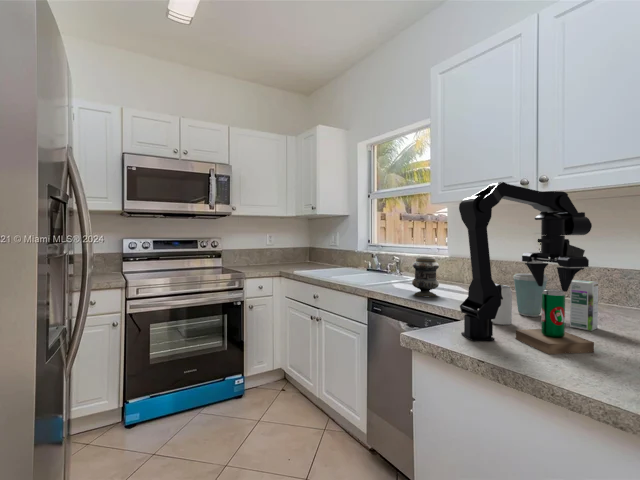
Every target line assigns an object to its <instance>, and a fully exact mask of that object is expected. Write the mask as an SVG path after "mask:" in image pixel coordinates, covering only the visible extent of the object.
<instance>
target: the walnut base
mask: <svg viewBox="0 0 640 480" xmlns="http://www.w3.org/2000/svg"><path fill="white" fill-rule="evenodd" d="M515 339H516V340H518V341H520V342H522V343H523V344H526V345H528V346H530V347H533V348H535V349H537V350H538V351H541V352H543V353H545V354H547V355H558V354H562V355H563V354H587V353H590V354H591V353H595V342H594V341H592V340H589V339H587V338H584V337H580V336H577V335H574V334H572V333H569V332H566V331H565V336H564V337H562V338H551V337H547V336H544V335H543V334H542V332H541V328H531V329H530V328H529V329H527V328H526V329H515Z"/></svg>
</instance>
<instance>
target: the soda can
mask: <svg viewBox="0 0 640 480" xmlns="http://www.w3.org/2000/svg"><path fill="white" fill-rule="evenodd" d="M540 324H541V326H540V327H541V328H540V329H541V332H542V334H543V335H544V336H547V337H551V338H562V337H564V336H565V332H566V325H565V324H566V294H565V292H564V291H562V289H558V288H557V289H556V288H546V289H544V291H543V293H542V308H541V322H540Z"/></svg>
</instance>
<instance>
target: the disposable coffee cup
mask: <svg viewBox="0 0 640 480" xmlns="http://www.w3.org/2000/svg"><path fill="white" fill-rule="evenodd" d="M548 281H549V278H548V277H547V274H545V273H544V281H543V286H538V284H537V282H536V280H535V278H534V276H533V275H532V273H515V274H514V275H513V282H514V289H515V298H516V306H517V307H516V308H517V311H518V314H519V315H521V316H525V317H531V318H532V317H533V318H535V317H536V318H537V317H540V315H541V314H542V293H543V291H544V289H547V282H548Z"/></svg>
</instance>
